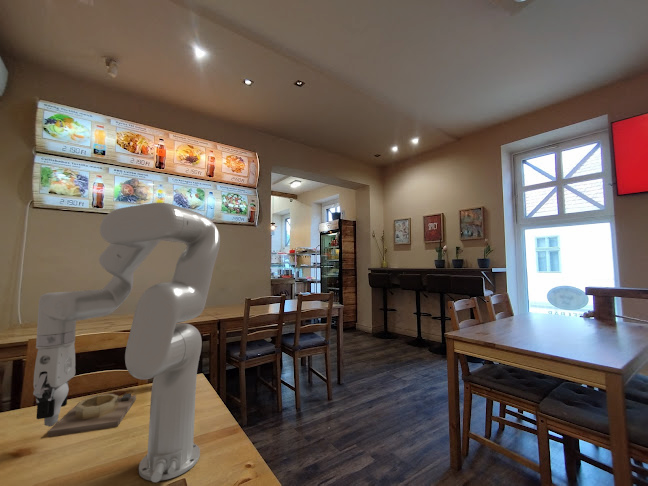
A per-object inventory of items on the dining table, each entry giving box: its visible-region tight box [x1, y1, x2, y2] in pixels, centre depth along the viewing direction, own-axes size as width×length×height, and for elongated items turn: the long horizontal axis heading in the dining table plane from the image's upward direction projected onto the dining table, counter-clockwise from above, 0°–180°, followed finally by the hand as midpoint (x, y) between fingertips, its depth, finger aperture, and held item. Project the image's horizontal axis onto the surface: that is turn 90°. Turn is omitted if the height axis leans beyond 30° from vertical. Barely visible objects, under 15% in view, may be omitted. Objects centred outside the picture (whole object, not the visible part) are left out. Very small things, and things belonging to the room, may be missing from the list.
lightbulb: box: [35, 383, 70, 428], centre depth 74 cm, size 6×6×11 cm
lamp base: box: [47, 392, 137, 438], centre depth 88 cm, size 18×16×3 cm
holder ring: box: [75, 393, 120, 420], centre depth 89 cm, size 10×10×3 cm
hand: (52, 411), depth 74 cm, fingers closed on lightbulb, 5 cm apart
